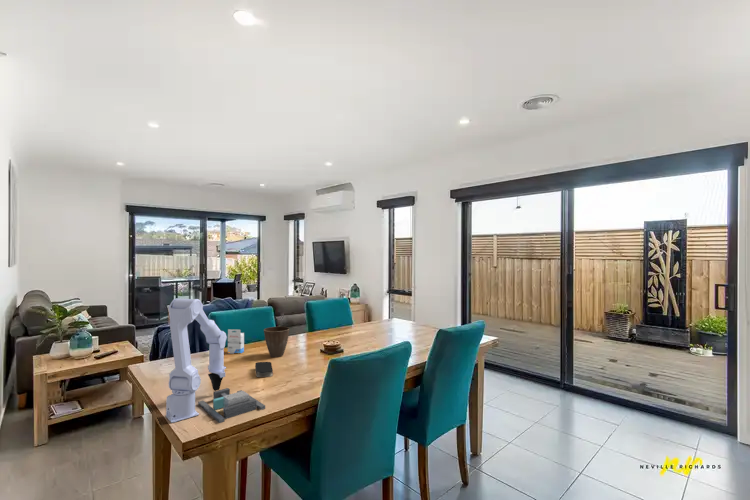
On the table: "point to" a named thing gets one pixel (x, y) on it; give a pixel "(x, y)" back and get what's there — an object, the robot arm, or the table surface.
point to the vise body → (232, 409)
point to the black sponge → (263, 369)
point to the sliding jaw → (219, 398)
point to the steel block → (235, 399)
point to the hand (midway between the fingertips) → (216, 389)
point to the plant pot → (276, 340)
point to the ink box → (235, 341)
